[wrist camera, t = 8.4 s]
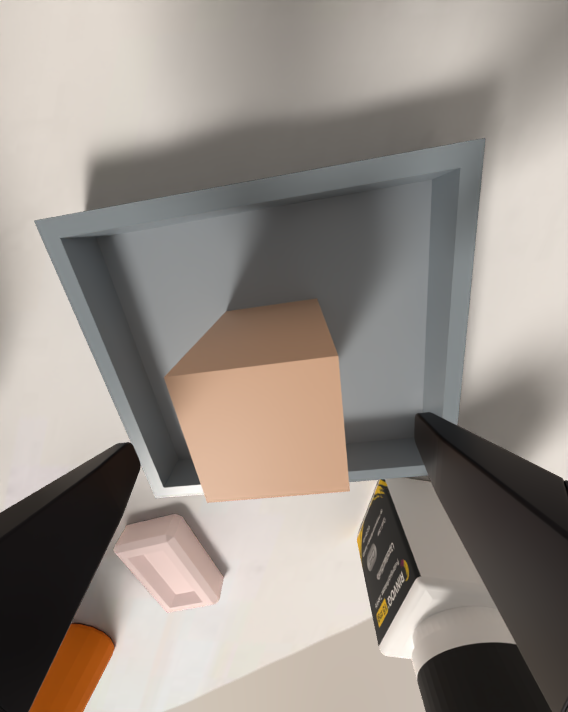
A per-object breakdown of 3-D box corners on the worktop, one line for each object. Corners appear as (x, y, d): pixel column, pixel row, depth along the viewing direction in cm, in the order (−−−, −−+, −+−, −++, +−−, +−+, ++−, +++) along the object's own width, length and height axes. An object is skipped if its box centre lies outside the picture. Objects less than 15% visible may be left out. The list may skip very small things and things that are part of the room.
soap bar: (181, 508, 23) (168, 537, 21) (226, 575, 26) (220, 607, 24) (124, 522, 24) (106, 551, 22) (175, 585, 27) (164, 617, 25)
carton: (244, 390, 17) (207, 502, 10) (225, 311, 16) (163, 377, 8) (325, 381, 17) (349, 491, 10) (317, 298, 15) (338, 356, 8)
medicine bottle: (380, 471, 20) (482, 751, 9) (476, 486, 21) (690, 777, 9) (354, 537, 23) (410, 814, 12) (440, 549, 23) (572, 833, 12)
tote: (174, 463, 21) (155, 498, 18) (83, 223, 15) (33, 220, 12) (429, 439, 19) (452, 473, 16) (444, 159, 13) (485, 137, 10)
